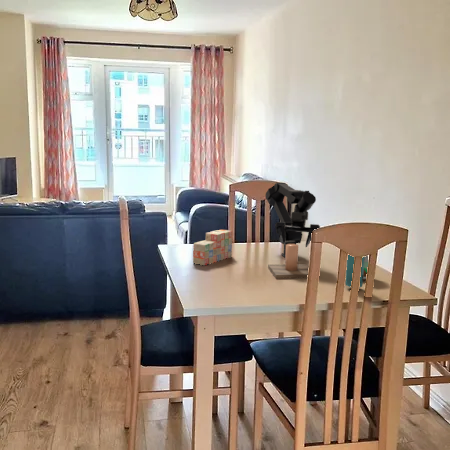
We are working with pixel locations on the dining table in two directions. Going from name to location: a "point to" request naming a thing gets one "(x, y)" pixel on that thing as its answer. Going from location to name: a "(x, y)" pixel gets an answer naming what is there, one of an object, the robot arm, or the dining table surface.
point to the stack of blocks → (213, 247)
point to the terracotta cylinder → (291, 257)
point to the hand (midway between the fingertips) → (294, 245)
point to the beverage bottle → (350, 271)
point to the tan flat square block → (281, 273)
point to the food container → (365, 267)
